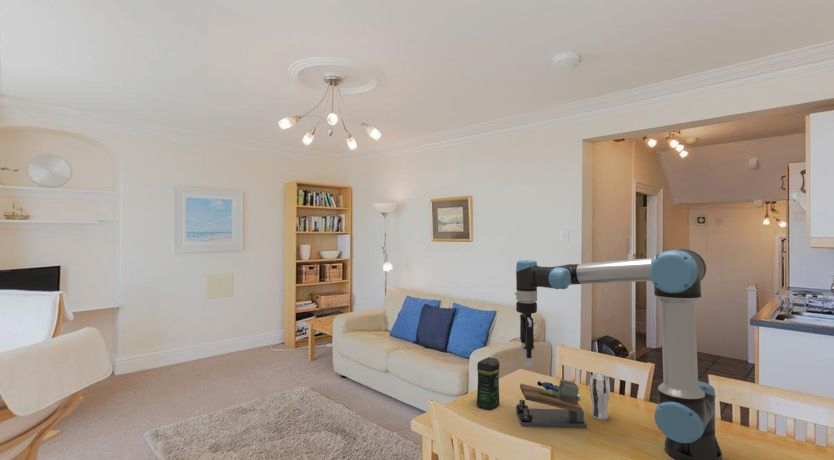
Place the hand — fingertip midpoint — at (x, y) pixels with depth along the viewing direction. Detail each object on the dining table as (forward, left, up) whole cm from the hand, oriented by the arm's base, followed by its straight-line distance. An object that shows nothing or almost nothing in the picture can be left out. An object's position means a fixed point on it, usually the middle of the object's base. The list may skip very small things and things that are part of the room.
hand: (526, 363), depth 157 cm
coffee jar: (+12, +13, -21) cm, 28 cm away
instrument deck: (0, -8, -13) cm, 16 cm away
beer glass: (+4, -28, -21) cm, 35 cm away
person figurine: (+23, -18, -22) cm, 36 cm away
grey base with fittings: (0, -9, -21) cm, 23 cm away
